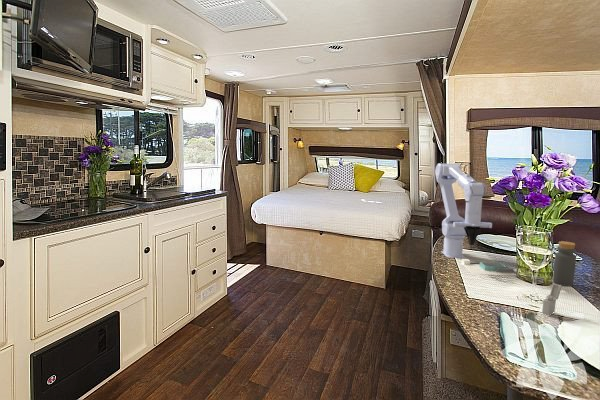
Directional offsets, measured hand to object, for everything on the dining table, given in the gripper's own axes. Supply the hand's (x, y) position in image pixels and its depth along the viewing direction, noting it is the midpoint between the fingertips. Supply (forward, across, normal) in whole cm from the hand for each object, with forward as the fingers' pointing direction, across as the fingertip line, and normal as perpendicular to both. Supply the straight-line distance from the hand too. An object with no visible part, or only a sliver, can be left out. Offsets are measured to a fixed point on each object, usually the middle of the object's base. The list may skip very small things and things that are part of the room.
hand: (471, 244), depth 136 cm
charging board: (+9, +5, -4) cm, 11 cm away
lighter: (+10, +8, -40) cm, 42 cm away
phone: (+9, +7, -4) cm, 12 cm away
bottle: (+10, +26, -16) cm, 32 cm away
